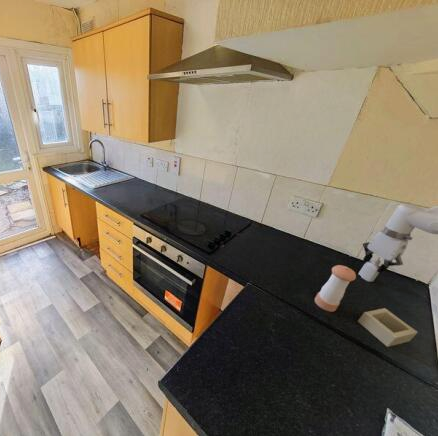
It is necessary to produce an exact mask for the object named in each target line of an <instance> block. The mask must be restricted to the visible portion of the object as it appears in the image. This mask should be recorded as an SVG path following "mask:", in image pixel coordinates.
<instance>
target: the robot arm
mask: <svg viewBox="0 0 438 436" xmlns="http://www.w3.org/2000/svg"><path fill="white" fill-rule="evenodd" d="M415 228H416V229H419V230H420V231H423V232H426V233H429V234H432V235H438V205H435V206H432V207H429V208H427V209H424V208H422V207H420V206H418V205H416V204H410V203H401V204H399V205H398V206H397V207H396V208H395V210H394V211H393V213H392V215H391V216H390V218H389V219H388V221H387V222H386V224H385V225H384V227H383V229H382V230H379V231H378V232H377V233H376V234H375V235H374V236H373V238H371V240H370V241H368V242H363V243H362V246H363V250H364V257H363V259H362V264H365V263H366V262H369V261H370V262H371V260H372V259H373V256H374V255H373V254H375V255H377V256H378V257H380V258H382V259H384V260H383V264H380V265H379V269H378V270H377V272H379V273H383V272H384V273H385V272H386V271H387V270H388V268H389V267H393V266H396V267H397V266H403V265H404V263H403V262H404V261H403V259H402V256H403V255H404V253H405V251H406V250H407V247H408V244H409V241H412V240H413V236H411V234H412V232H413V231H414V229H415ZM394 260H395V261H394Z"/></svg>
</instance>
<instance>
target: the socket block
mask: <svg viewBox="0 0 438 436" xmlns="http://www.w3.org/2000/svg"><path fill="white" fill-rule="evenodd" d="M357 322H358V324H360V325H361V326H362V327H363V328H365V329H366V330H367V331H368V332H369V333H370V334H372V335H373V336H374V337H375V338H376V339H377V340H378V341H380V342H381V343H382V344H383V345H384V346H386V348H389V347H393V346H396V345H401V344H404V343H409V342H410V341H411V340H412V339H413V338H415V336H416V335H417V334H418V331H417V330H416V329H414V328H413V327H411V326H410V325H408V324H407V323H406V322H405V321H403V320H402V319H400V318H399V317H398V316H397V315H395V314H394V313H393V312H391V311H390V310H388V309H387V308H385V307H383V308H378V309H374V310H369V311H364V312H363V313H362V314H361V316H360V317H359V319H358V320H357Z"/></svg>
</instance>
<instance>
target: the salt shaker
mask: <svg viewBox="0 0 438 436" xmlns="http://www.w3.org/2000/svg"><path fill="white" fill-rule="evenodd" d="M356 278H357V275H356V272H355V270H353V269H352V268H350V267H348V266H346V265H341V264H336V265H334V266H333V267H332V268H331V275H330V277H329V279H328V280H327V281H326V283H325V284H324V285H322V287H321V289H320V291H318V292H317V293H316V296H315V297H314V303H315V304H316V305H317V306H318V307H319V308H320V309H322V310H324V311H327V312H331V313H332V312H335V311H336V310H337V309H338V308H339V306H340V304H341V301H342V299H343V297H344V296H345V293H346V289H347V288H348V286H349V284H350V282H353V281H355V280H356Z"/></svg>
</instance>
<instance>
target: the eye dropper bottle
mask: <svg viewBox="0 0 438 436" xmlns="http://www.w3.org/2000/svg"><path fill="white" fill-rule="evenodd" d="M380 258H381V257H380V256H377V257H376V258H372V259H371V260H372V261H371V260H370V261H369V262H366V263H363V266H362V267H361V269H360V270H359V272H358V276H359V275H360V276H361V277H360V276H359V277H360V278H361V279H362V280H364V281H366V282H368V283H371V282H374V281H375V279H376V278H377V277H378V275H379V274H380V272H377V270H378V269H379V267H380V263H381V262H382V261H381V260H380Z"/></svg>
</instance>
